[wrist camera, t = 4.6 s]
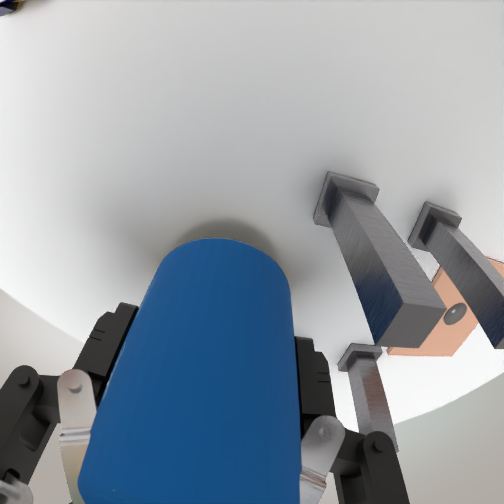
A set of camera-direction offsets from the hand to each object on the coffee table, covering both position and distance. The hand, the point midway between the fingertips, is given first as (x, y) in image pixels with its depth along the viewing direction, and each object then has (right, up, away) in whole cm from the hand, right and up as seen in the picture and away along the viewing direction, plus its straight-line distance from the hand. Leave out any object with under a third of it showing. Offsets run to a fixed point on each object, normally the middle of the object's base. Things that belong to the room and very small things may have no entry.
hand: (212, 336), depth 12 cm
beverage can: (0, +2, +3) cm, 3 cm away
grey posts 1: (+5, +1, +4) cm, 7 cm away
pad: (+16, -1, +5) cm, 16 cm away
